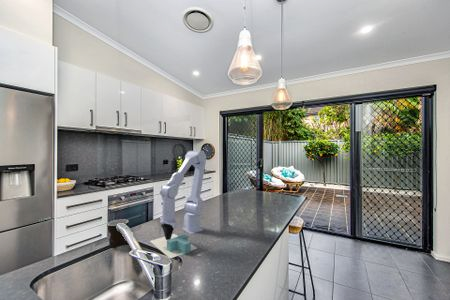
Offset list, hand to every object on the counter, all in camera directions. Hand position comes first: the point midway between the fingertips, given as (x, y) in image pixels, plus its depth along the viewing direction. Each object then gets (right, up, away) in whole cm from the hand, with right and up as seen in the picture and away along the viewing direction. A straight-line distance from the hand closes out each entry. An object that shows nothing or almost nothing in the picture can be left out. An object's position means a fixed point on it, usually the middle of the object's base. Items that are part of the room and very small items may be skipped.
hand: (168, 239), depth 92 cm
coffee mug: (-22, -1, -4) cm, 23 cm away
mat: (+3, -1, -3) cm, 5 cm away
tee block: (+8, -1, -8) cm, 11 cm away
